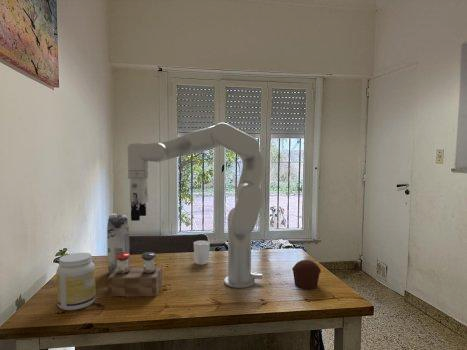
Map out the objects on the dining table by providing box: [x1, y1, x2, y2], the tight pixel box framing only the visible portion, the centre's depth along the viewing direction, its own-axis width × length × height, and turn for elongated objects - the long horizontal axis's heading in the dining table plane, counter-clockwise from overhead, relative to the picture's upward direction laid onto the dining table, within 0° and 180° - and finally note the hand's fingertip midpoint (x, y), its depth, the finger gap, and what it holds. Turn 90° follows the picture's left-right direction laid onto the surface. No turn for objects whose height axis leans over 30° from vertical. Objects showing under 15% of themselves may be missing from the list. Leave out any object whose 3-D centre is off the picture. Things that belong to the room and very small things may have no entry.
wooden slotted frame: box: [106, 266, 163, 298], centre depth 127 cm, size 12×18×7 cm, turn 93°
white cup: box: [193, 240, 211, 266], centre depth 160 cm, size 8×8×10 cm
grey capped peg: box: [141, 251, 156, 274], centre depth 127 cm, size 5×5×10 cm
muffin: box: [291, 259, 322, 291], centre depth 132 cm, size 12×11×10 cm
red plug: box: [116, 252, 131, 275], centre depth 126 cm, size 5×5×10 cm
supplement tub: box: [56, 252, 96, 311], centre depth 115 cm, size 12×12×17 cm
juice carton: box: [106, 212, 130, 276], centre depth 144 cm, size 9×10×27 cm
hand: (138, 218), depth 128 cm, fingers open, 9 cm apart
